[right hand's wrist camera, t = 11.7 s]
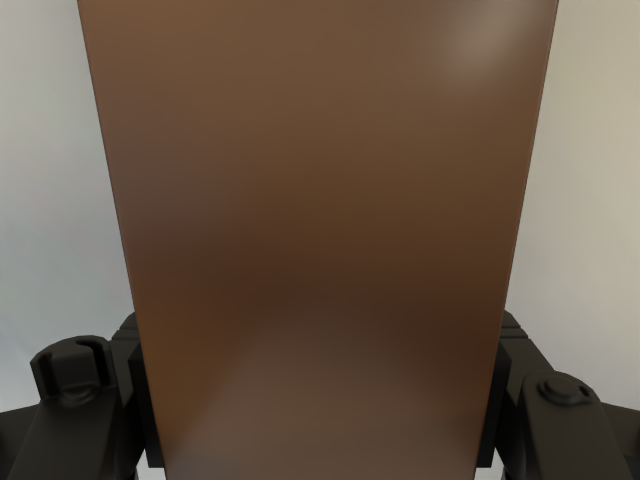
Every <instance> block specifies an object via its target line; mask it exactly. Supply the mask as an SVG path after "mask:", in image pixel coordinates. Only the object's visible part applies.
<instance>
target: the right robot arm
mask: <svg viewBox="0 0 640 480" xmlns="http://www.w3.org/2000/svg"><path fill="white" fill-rule="evenodd" d="M30 365H31V368H32V372H33V375H34V378H35V382H36V385H37V388H38V392H39V395H40V398H41V400H40V402H39V404H36V405H33V406H29V407H25V408H20V409H15V410H11V411H6V412H1V413H0V480H139V478H138V473H137V468H136V466H137V464H138V462H139V460H140V457H141V455H142V453H143V451H144V449H145V452H146V457H147V462H148V467H149V468H164V466H163V460H162V455H161V450H160V444H159V439H158V434H157V428H156V423H155V417H154V412H153V407H152V401H151V396H150V391H149V385H148V380H147V374H146V369H145V364H144V358H143V353H142V348H141V342H140V337H139V332H138V326H137V321H136V315H135V312H133V313H132V314H130V315H129V316H128V317H127V318H126V320H125V321H124V322H123V324H122V325H121V326H120V328H119V330H117V331H116V333H115V334H114V335H113V337H112V340H110V341H109V342H108V341H107V340H106V339H105V338H103V337H99V336H94V335H86V336H76V337H72V338H68V339H64V340H61V341H59V342H56V343H54V344H52V345H49V346H48V347H46V348H45V349H43V350H42V351H40V352H39V353H37V354H36V356H35V357H34V358H33V359H32V360H31V362H30ZM495 447H496V449H497V452H498V454H499V456H500V458H501V460H502V462H503V465H504V468H503V473H502V477H501V480H640V411H638V410H633V409H629V408H624V407H619V406H615V405H610V404H607V403H603V402H600V399H599V398H598V396H597V395H596V394H595V392H594V391H593V389H591V388H590V387H589V386H588V385H586V384H585V383H584V382H582V381H581V380H579V379H577V378H575V377H573V376H571V375H569V374H566V373H562V372H558V371H555V370H554V369H553V368H552V366H551V365H550V364H549V362H548V361H547V360H546V359H545V357H544V356H543V355H542V353H541V352H540V351H539V349H538V348H537V347H536V346H535V344H534V343H533V342H532V340H531V339H528V335H527V334H526V333H525V331H524V330H523V329H521V326H520V325H519V324H518V322H517V321H516V320H515V318H514V317H513V316H512V315H511V314H510V313H509V312H507V311H506V310H504V313H503V319H502V325H501V330H500V336H499V342H498V347H497V353H496V359H495V364H494V370H493V376H492V381H491V387H490V393H489V398H488V404H487V410H486V415H485V421H484V426H483V432H482V438H481V443H480V449H479V455H478V460H477V466H476V468H491V465H492V460H493V455H494V450H495Z"/></svg>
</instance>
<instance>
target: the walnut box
mask: <svg viewBox="0 0 640 480" xmlns="http://www.w3.org/2000/svg"><path fill="white" fill-rule="evenodd" d="M558 3H559V0H77V4H78V9H79V15H80V20H81V25H82V31H83V36H84V41H85V47H86V52H87V58H88V63H89V68H90V74H91V79H92V84H93V90H94V95H95V101H96V106H97V111H98V117H99V122H100V127H101V133H102V138H103V144H104V149H105V154H106V160H107V165H108V170H109V176H110V181H111V186H112V192H113V197H114V203H115V208H116V213H117V219H118V224H119V229H120V235H121V240H122V246H123V251H124V256H125V262H126V267H127V272H128V278H129V283H130V289H131V294H132V299H133V305H134V310H135V315H136V321H137V326H138V332H139V337H140V342H141V348H142V353H143V358H144V364H145V369H146V374H147V380H148V385H149V391H150V396H151V401H152V407H153V412H154V417H155V423H156V428H157V434H158V439H159V444H160V450H161V455H162V460H163V466H164V471H165V477H166V480H474V477H475V472H476V466H477V460H478V455H479V449H480V443H481V438H482V432H483V426H484V421H485V415H486V410H487V404H488V398H489V393H490V387H491V381H492V376H493V370H494V364H495V359H496V353H497V347H498V342H499V336H500V330H501V325H502V319H503V313H504V308H505V302H506V297H507V291H508V285H509V280H510V274H511V268H512V263H513V257H514V251H515V246H516V240H517V234H518V229H519V223H520V217H521V212H522V206H523V200H524V195H525V189H526V184H527V178H528V172H529V167H530V161H531V155H532V150H533V144H534V138H535V133H536V127H537V121H538V116H539V110H540V104H541V99H542V93H543V87H544V82H545V76H546V70H547V65H548V59H549V54H550V48H551V42H552V37H553V31H554V25H555V20H556V14H557V8H558Z"/></svg>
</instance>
